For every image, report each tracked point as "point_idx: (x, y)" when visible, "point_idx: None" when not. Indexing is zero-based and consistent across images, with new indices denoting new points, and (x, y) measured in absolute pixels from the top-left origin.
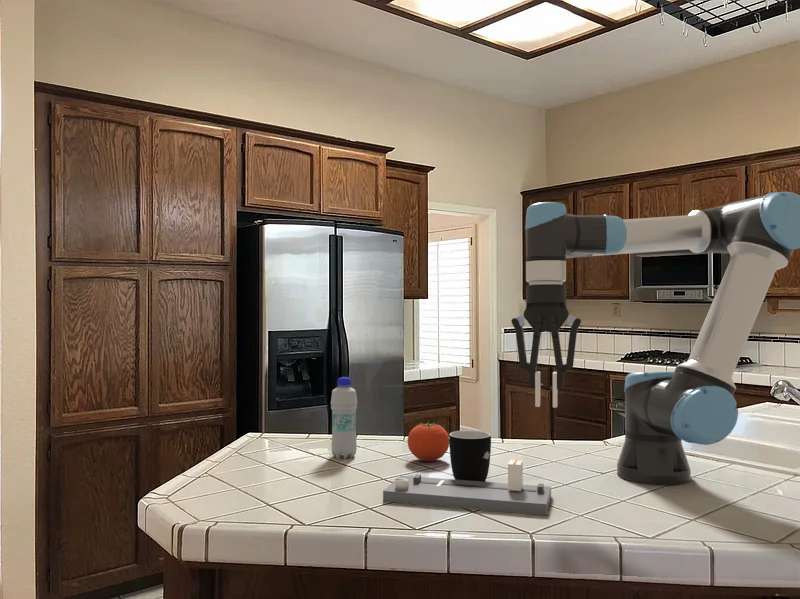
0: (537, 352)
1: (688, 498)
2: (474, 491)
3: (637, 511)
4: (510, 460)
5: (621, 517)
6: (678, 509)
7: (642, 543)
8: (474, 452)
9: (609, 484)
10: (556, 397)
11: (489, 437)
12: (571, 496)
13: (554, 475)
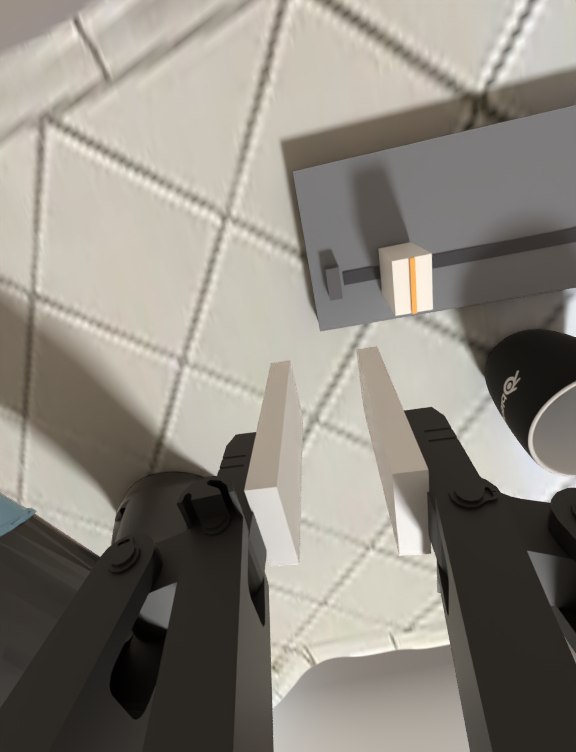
0: (484, 711)
1: (90, 421)
2: (500, 197)
3: (135, 302)
4: (431, 301)
5: (146, 244)
6: (78, 349)
7: (39, 60)
8: (553, 359)
9: None
10: (266, 387)
11: (529, 422)
12: (281, 345)
13: (348, 467)
